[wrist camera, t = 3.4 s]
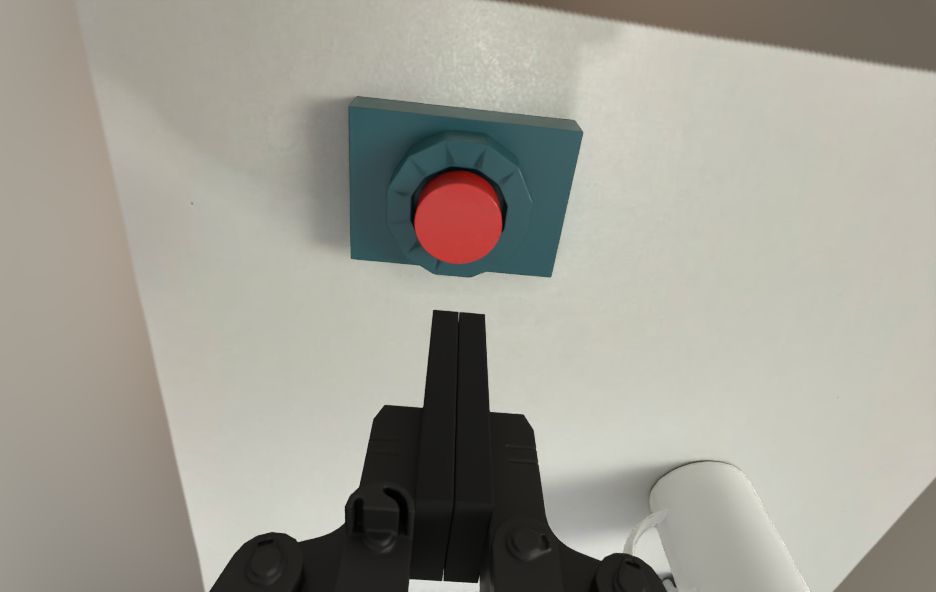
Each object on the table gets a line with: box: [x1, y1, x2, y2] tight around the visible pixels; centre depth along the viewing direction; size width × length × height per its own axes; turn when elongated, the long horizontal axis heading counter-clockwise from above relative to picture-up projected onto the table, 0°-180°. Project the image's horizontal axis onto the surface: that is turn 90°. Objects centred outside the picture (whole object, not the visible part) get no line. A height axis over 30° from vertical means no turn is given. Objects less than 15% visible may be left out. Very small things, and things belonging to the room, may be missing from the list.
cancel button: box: [414, 171, 502, 264], centre depth 25 cm, size 4×4×2 cm
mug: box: [623, 461, 810, 592], centre depth 37 cm, size 12×8×10 cm, turn 76°
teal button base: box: [349, 96, 583, 277], centre depth 27 cm, size 11×8×4 cm
